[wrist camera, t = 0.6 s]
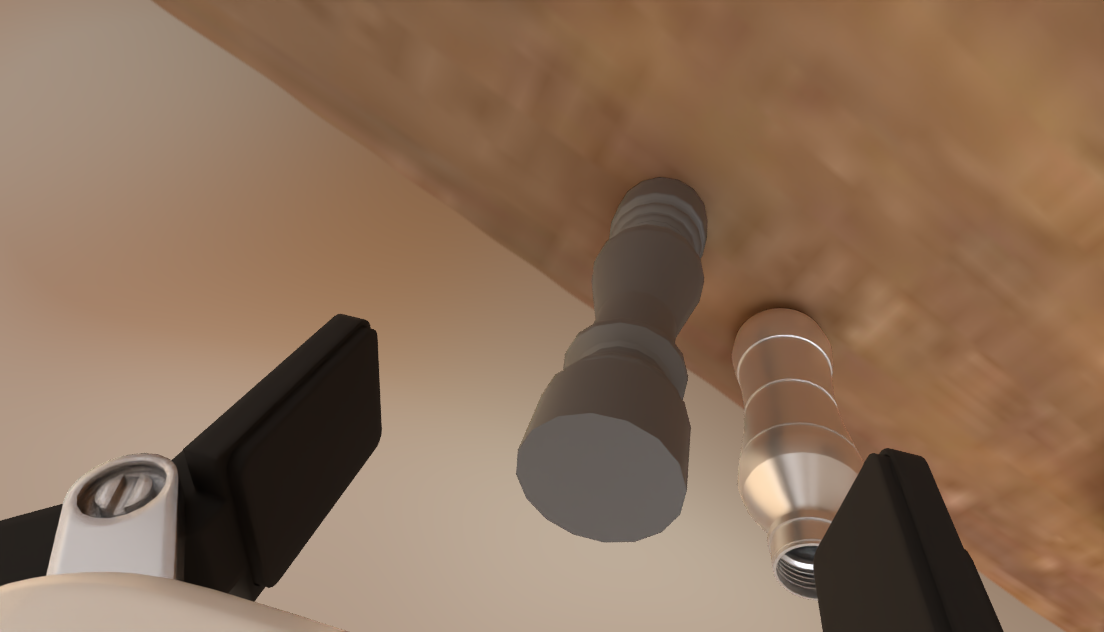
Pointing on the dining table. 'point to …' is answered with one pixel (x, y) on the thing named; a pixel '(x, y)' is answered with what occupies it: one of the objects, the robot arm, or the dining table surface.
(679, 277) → the candle holder
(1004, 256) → the dining table surface
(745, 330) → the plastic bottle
